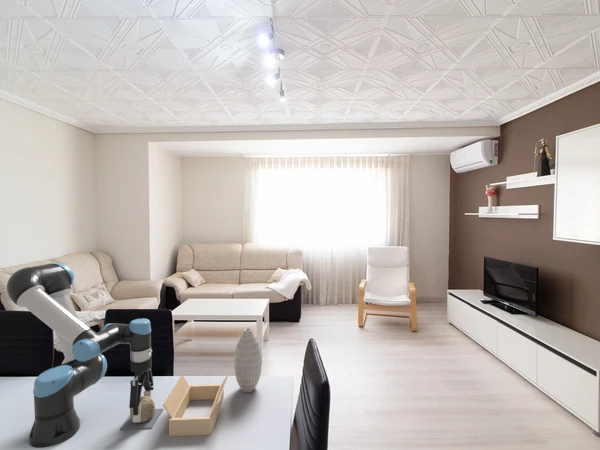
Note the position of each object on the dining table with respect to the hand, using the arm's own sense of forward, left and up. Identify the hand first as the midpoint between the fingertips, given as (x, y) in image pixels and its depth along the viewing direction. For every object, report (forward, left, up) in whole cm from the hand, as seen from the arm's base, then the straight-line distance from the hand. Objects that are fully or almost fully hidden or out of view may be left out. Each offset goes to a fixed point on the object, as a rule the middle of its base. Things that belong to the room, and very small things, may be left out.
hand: (142, 413), depth 129 cm
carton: (+22, +2, -2) cm, 22 cm away
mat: (0, 0, -2) cm, 2 cm away
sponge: (0, 0, -1) cm, 1 cm away
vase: (+40, +20, -2) cm, 45 cm away
